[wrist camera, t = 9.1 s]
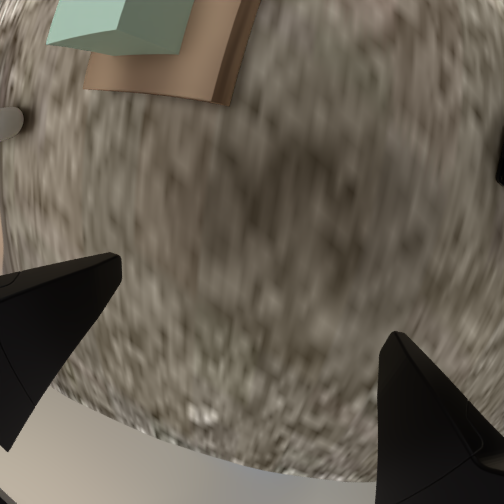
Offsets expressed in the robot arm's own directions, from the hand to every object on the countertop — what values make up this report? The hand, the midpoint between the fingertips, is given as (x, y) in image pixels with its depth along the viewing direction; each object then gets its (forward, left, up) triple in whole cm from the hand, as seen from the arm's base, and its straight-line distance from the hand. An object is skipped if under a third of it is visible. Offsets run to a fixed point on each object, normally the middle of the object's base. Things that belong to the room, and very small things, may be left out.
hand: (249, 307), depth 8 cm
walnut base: (+10, -11, -12) cm, 19 cm away
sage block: (+10, -11, -8) cm, 17 cm away
